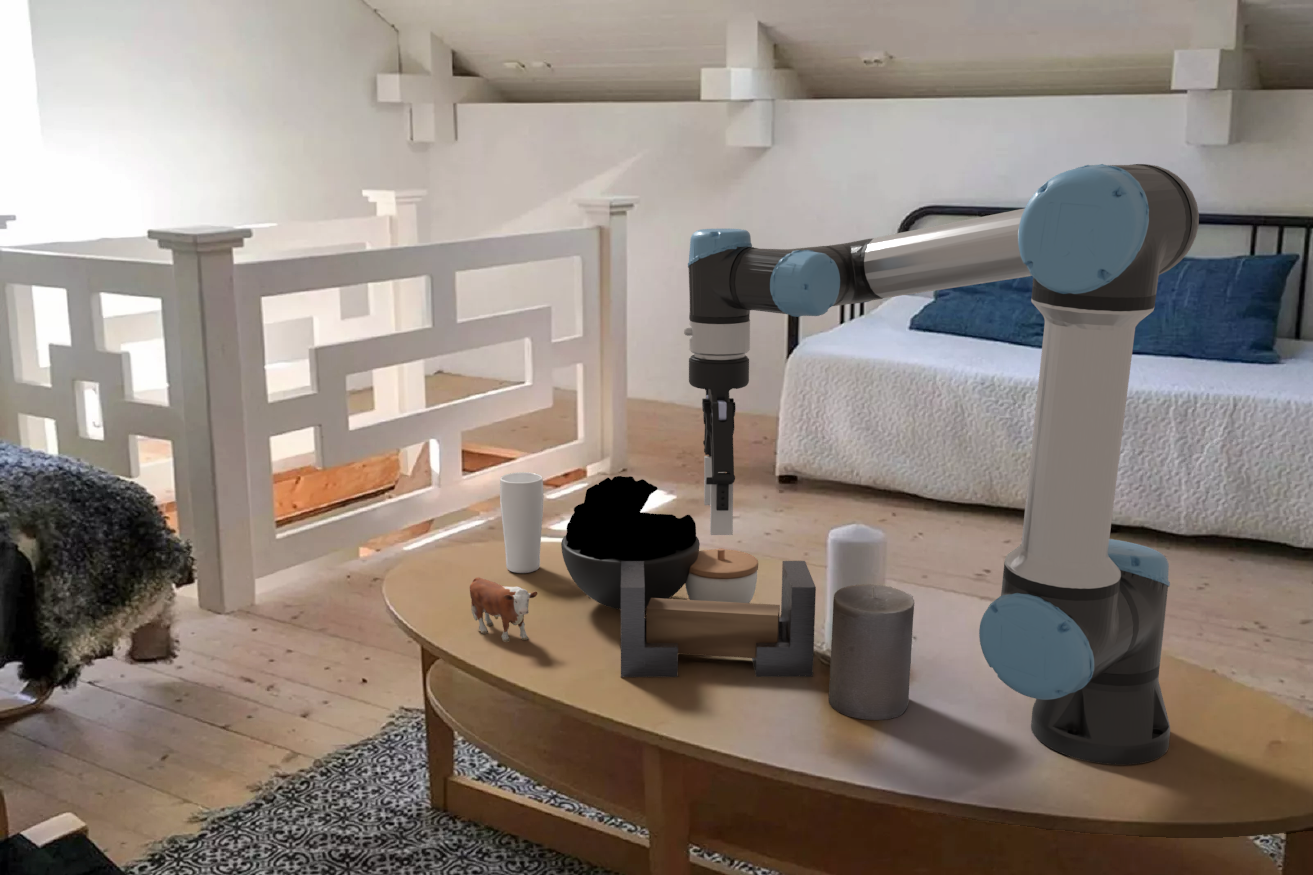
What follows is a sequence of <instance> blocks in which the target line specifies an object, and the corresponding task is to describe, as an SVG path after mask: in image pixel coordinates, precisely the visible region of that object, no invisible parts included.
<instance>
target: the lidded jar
mask: <svg viewBox="0 0 1313 875" xmlns="http://www.w3.org/2000/svg"><path fill="white" fill-rule="evenodd" d="M758 569H759V560H758V559H757V558H756V556H754V555H752V554H750V553H747V552H744V551H742V550H741V551H740V550H734V549H725V548H717V549H716V548H715V549H713V548H712V549H704V550H699V553H698V558H697V560H696V561H695V563H694V564H693V565H691V566H690V570H689V575H688V578H687V580H686V583H685V584H684V585H685V586H684V587H685V590H686V594H687V596H688V600H700V601H718V602H737V603H751V601H752V600H753V598H754V595H755V593H756V592H755V591H756V588H757V582H758Z"/></svg>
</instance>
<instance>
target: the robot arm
mask: <svg viewBox="0 0 1313 875" xmlns="http://www.w3.org/2000/svg"><path fill="white" fill-rule="evenodd" d="M1199 220H1200V214H1199V207H1198V203H1197V201H1196V198H1195V195H1194V193H1193V191H1192V190H1191V189H1190V187H1189V186H1188V185H1187V183H1186V182H1185V181H1184V180H1183V179H1182V178H1180V176H1178V175H1177V174H1176V173H1174V172H1172V171H1170V170H1169V169H1166V168H1164V167H1161V166H1159V165H1154V164H1147V163H1145V164H1144V163H1137V164H1136V163H1134V164H1103V163H1101V164H1094V165H1093V164H1091V165H1090V164H1086V165H1083V166H1078V167H1075V168H1073V169H1072V168H1071V169H1069V170H1066V171H1063V172H1060V173H1058V174H1057V175H1055V176H1053V177H1051V178H1049V179H1047V181H1046V182H1044V183H1043V184H1042V185H1041V186H1040V187H1039V188H1037V190H1036V191H1035V192H1034V193H1033V195H1031V197H1030V199H1029V200H1028V202H1027V203H1026V205H1025V207H1024V208H1019V209H1015V210H1011V211H1004V212H1000V213H995V214H990V215H989V214H988V215H985V216H980V217H974V218H969V219H964V220H959V221H953V222H949V223H944V224H938V225H934V226H928V227H922V228H919V229H912V230H908V231H902V232H898V233H891V234H888V235H883V236H878V237H872V238H866V239H860V240H856V241H850V242H844V243H838V244H832V245H831V244H830V245H820V246H819V245H818V246H811V247H810V246H809V247H808V246H807V247H798V248H797V247H796V248H788V249H787V248H786V249H783V248H782V249H781V248H780V249H779V248H758V247H754V246H753V244H752V240H751V234H750V232H749V230H746V229H741V228H702V229H698V230H696V231H694V232H693V233H692V234H691V237H690V239H689V241H690V243H689V254H688V256H689V257H688V263H687V268H688V287H689V318H688V320H689V326H690V327H685V329H684V331H683V332H684V333H683V334H684V335H685V336H688V337H689V336H690V337H689V343H688V344H689V349H688V350H689V351H690V352H691V353H692V354H693V355H691V356H690V357H689V358H688V383H689V384H690V386H692V387H694V388H697V389H701V390H705V398H702V399H701V401H702V402H701V405H702V406H701V408H702V413H703V416H702V417H703V424H704V432H703V433H704V436H703V437H704V438H703V440H702V443H703V444H702V445H703V446H704V448H703V453H704V457H703V458H704V459H703V460H704V461H703V462H704V463H703V464H704V467H703V468H704V469H703V471H704V472H703V473H704V474H703V475H704V476H703V477H704V478H703V481H704V482H703V485H704V486H703V489H704V490H703V493H704V494H703V496H704V497H703V500H704V501H703V504H704V506H710V514H709V515H710V518H709V519H710V520H709V521H710V524H709V533H710V534H709V535H711V536H733V532H734V531H733V530H734V527H733V525H734V483H735V480H736V476H735V472H734V471H735V469H734V468H735V466H734V465H735V463H734V462H735V461H734V460H735V459H734V433H735V416H736V411H737V409H736V401H735V402H734V398H732V397H731V398H730V391H731V390H733V389H734V390H735V389H736V390H737V389H742V388H745V387H746V386H748V384H749V382H750V358H749V357H748V356H747V355H746V354H747V353H749V351H750V350H751V320H750V318H751V317H750V314H751V311H757V312H766V313H774V314H782V315H789V316H791V317H797V318H799V317H819V316H823V315H824V314H826V313H827V312H828V311H829V309H831V308H832V307H836V306H837V307H838V306H844V305H845V306H846V305H851V304H865V303H869V302H871V301H876V300H877V301H878V300H882V299H889V298H893V297H895V298H896V297H900V296H908V295H913V294H921V293H927V292H934V291H941V290H947V289H953V288H960V287H967V286H973V285H974V286H975V285H979V284H980V285H981V284H986V283H987V284H989V283H993V282H999V281H1005V280H1007V281H1008V280H1013V279H1019V278H1020V279H1021V278H1027V277H1031V276H1032V290H1031V299H1030V300H1031V301H1030V302H1031V303H1032V305H1034V307H1036V309H1037V310H1038V311H1039V313H1040V314H1041V315H1042V317H1043V319H1044V327H1043V336H1042V345H1041V356H1040V366H1039V374H1038V383H1037V384H1038V385H1037V394H1036V400H1035V402H1036V403H1035V413H1034V422H1033V423H1034V424H1033V431H1032V432H1033V433H1032V441H1031V451H1030V457H1029V458H1030V459H1029V469H1028V479H1027V487H1026V498H1025V508H1024V516H1023V517H1024V518H1023V524H1022V534H1021V543H1020V544H1019V546H1017V547H1016V548H1014V549H1012V550H1011V551H1009V553H1008V554H1006V556H1005V558H1004V563H1003V565H1004V566H1003V573H1002V582H1001V593H1000V596H999V597H997V598H996V599H994V601H992V602H991V603H990V604H989V605H988V607H987V609H985V612H984V613H983V615H982V617H981V620H980V624H979V629H978V630H979V631H978V632H979V633H978V636H979V645H980V648H981V650H982V655H983V656H984V658H985V660H986V663H987V665H988V666H989V667H990V668H992V669H993V670H994V672H995V673H996V675H997V678H998V679H999V680H1000V681H1002V683H1004V684H1005V685H1006V686H1007V687H1009V688H1010V689H1011V690H1013V691H1015V692H1016V693H1018V694H1020V695H1023V696H1025V697H1027V698H1031V699H1034V700H1035V701H1034V702H1033V703H1034V704H1033V706H1032V709H1031V710H1032V711H1031V722H1030V723H1031V724H1030V729H1031V731H1032V734H1033V735H1034V736H1035V737H1036V739H1037V740H1038V741H1039V742H1040V743H1042V744H1044V745H1045V746H1047V747H1048V748H1049V749H1051V750H1053V751H1056V752H1058V753H1060V754H1063V755H1065V756H1069V757H1071V758H1074V759H1078V760H1081V761H1086V762H1091V763H1097V764H1103V765H1118V766H1119V765H1123V766H1125V765H1138V764H1143V763H1149V762H1151V761H1155V760H1157V759H1159V758H1161V757H1162V756H1164V755H1165V754H1166V753H1167V752H1168V749H1169V746H1170V738H1171V737H1170V736H1171V725H1170V720H1169V716H1168V713H1167V708H1166V705H1165V701H1164V697H1163V693H1162V688H1161V685H1160V681H1159V680H1160V679H1159V678H1160V677H1159V676H1160V666H1161V656H1162V650H1163V649H1162V648H1163V639H1164V638H1163V637H1164V629H1165V620H1166V612H1167V602H1168V599H1167V598H1168V590H1169V587H1170V585H1171V583H1170V580H1169V570H1170V569H1169V567H1170V565H1169V561H1168V558H1167V557H1166V556H1165V555H1164V554H1163V553H1162V552H1160V551H1158V550H1156V549H1154V548H1152V547H1148V546H1145V545H1142V544H1139V543H1138V544H1137V543H1135V542H1134V543H1133V542H1131V541H1130V542H1129V541H1126V540H1125V541H1124V540H1119V539H1113V538H1110V536H1111V528H1112V520H1113V512H1114V506H1115V505H1114V503H1115V496H1116V488H1117V480H1118V470H1119V463H1120V454H1121V447H1122V439H1123V429H1124V425H1125V424H1124V422H1125V416H1126V415H1125V413H1126V405H1127V398H1128V390H1129V382H1130V374H1131V365H1132V358H1133V350H1134V349H1133V348H1134V341H1135V333H1136V327H1137V326H1138V325H1139V323H1140V322H1141V321H1142V320H1144V319H1145V318H1146V317H1147V316H1149V315H1150V314H1151V313H1153V312H1154V311H1155V310H1154V309H1155V307H1156V306H1155V305H1156V298H1157V292H1158V283H1159V282H1158V281H1159V276H1160V275H1162V274H1164V273H1167V272H1168V271H1170V270H1171V269H1172V268H1174V267H1175V266H1176V265H1178V264H1179V263H1180V262H1181V261H1183V259H1184V258H1185V257H1186V256H1187V255H1188V253H1189V251H1190V250H1191V248H1192V246H1193V244H1194V242H1195V240H1196V238H1197V235H1198V234H1197V233H1198V230H1199V225H1200V224H1199V222H1200V221H1199Z"/></svg>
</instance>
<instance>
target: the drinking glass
mask: <svg viewBox="0 0 1313 875" xmlns="http://www.w3.org/2000/svg"><path fill="white" fill-rule="evenodd" d="M543 480H544V478H543V476H542V475H541V474H538V473H534V472H524V471H523V472H512V473H507V474H504V475H502V476H500V478H499V483H500V484H499V503H500V513H501V523H502V532H503V539H504V540H503V541H504V551H505V566H506V569H507V570H508V571H509V572H512V573H515V574H527V573H533V572H535V571H538V569H539V568H540V566H541V544H542V542H541V541H542V529H543V528H542V527H543V514H544V481H543Z"/></svg>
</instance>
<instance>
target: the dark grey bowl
mask: <svg viewBox="0 0 1313 875" xmlns="http://www.w3.org/2000/svg"><path fill="white" fill-rule="evenodd" d="M658 490H659V489H658V487H657V486H655V485H654V484H652V483H649V482H648V481H646V480H645V479H643V478H641V479H639V480H636V479H635V478H634V476H623V475H618V476H614V477H613V478H610V477H607V478H605V479H603V480H601V481H599V482H598V484H597V483H596V484H594V485H592V486H590V487H589V488H587V489H586V492H585V497H584V501H583V502H582V503H579V504H578V505H576V506H575V507H574V508H573V513H572V515H571V517H570V519H569V522H567V525H566V528H565V529H566V534H565V535H564V536H563V538H562V539H561V543H560V546H561V554H562V558H563V562H564V565H565V567H566V570H567V572H568V573H569V576H570V577H571V579H572V581H573V582H574V583H575V584H576V586H577V587H578V588H579V589H580V590H581V591H582V592H583V594H585V595H586V596H588V597H589V598H591V599H592V600H593V601H594V602H596V603H598V604H600V605H603V606H605V607H608V608H610V609H615V610H619V611H621V561H644V583H645V610H646V608H647V606H648V604H649V601H650V599H651V598H663V599H671V598H672V597H673V596H675V594H677V593H678V592H679V591H680V590H681V589H682V588H683V586H684V585H685V583H686V580H687V578H688V575H689V570H690V566H691V565H693V564H694V563H695V561H696V560H697V558H698V553H699V551H700V547H701V545H700V540H699V537H698V536H697V527H696V525H697V524H696V521H695V520H694V518H693V517H692V516H691V514H686V515H684V516H682V517H680V518H679V517H677V516H676V515H674V514H669V513H653V512H652V513H649V512H641V511H642V510H643V509H644V507H645V505H646V503H647V502H648V500H649V498H650V496H651V494H653V493H655V492H656V491H658Z"/></svg>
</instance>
